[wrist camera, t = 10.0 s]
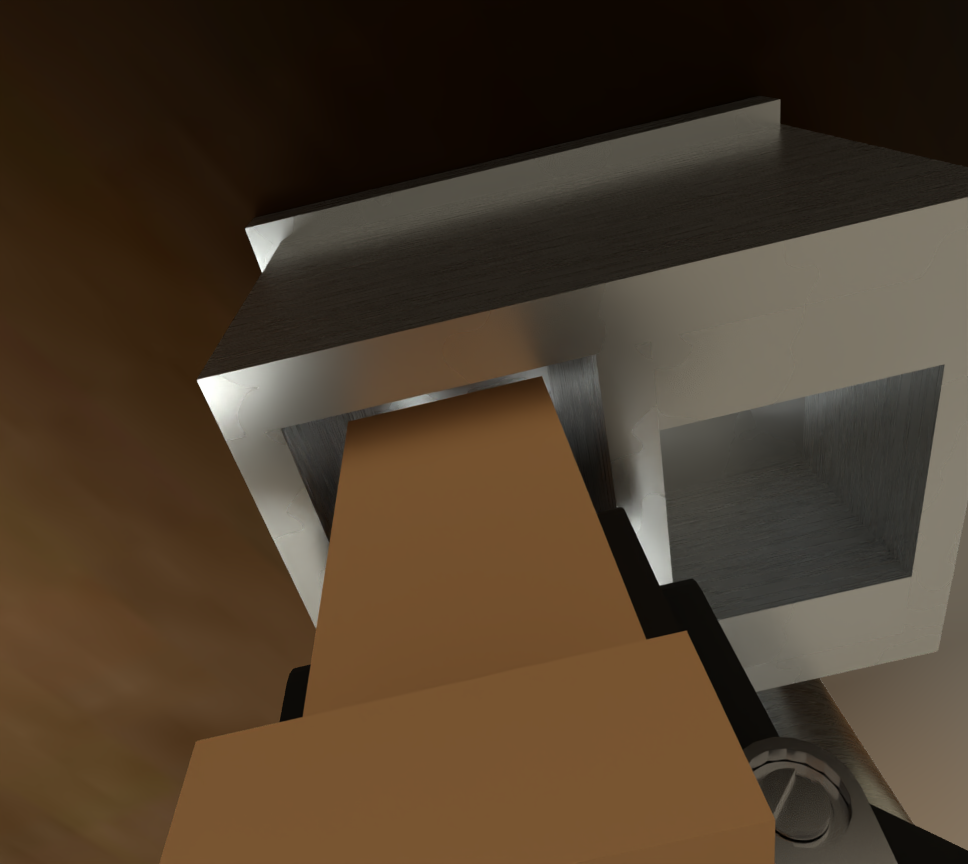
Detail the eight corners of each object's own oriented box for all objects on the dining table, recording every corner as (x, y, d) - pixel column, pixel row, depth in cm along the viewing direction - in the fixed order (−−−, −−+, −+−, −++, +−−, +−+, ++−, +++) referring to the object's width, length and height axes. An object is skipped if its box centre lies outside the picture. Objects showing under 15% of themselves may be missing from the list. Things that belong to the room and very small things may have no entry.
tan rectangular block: (317, 337, 10) (129, 960, 3) (525, 287, 10) (776, 820, 3) (455, 712, 15) (496, 1302, 8) (599, 680, 15) (767, 1246, 8)
